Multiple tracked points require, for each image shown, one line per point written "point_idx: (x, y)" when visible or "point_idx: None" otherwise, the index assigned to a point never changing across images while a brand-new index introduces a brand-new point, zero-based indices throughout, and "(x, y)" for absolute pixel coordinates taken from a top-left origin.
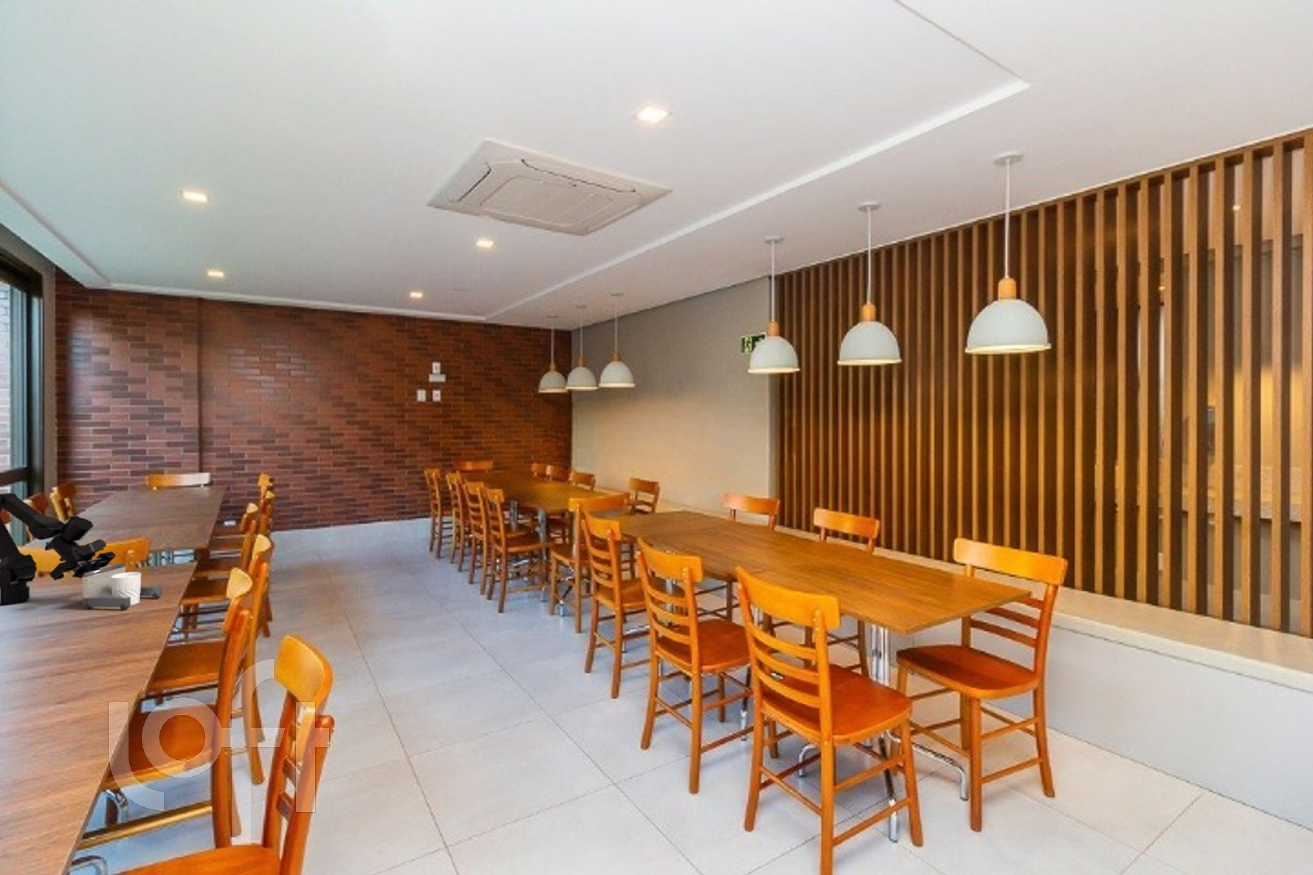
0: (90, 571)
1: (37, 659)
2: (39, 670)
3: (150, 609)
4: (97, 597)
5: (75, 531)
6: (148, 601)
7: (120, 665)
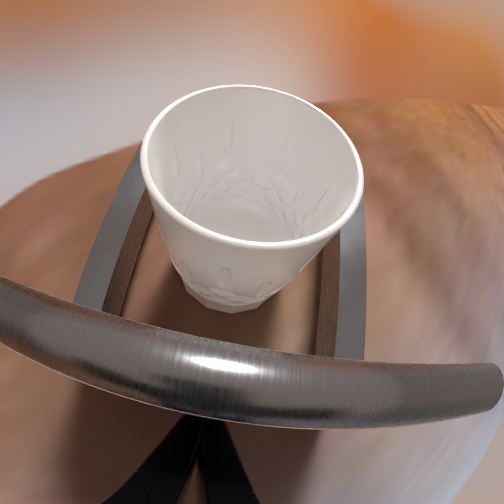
0: (458, 390)
1: None
2: None
3: None
4: (350, 329)
5: None
6: None
7: (498, 124)
